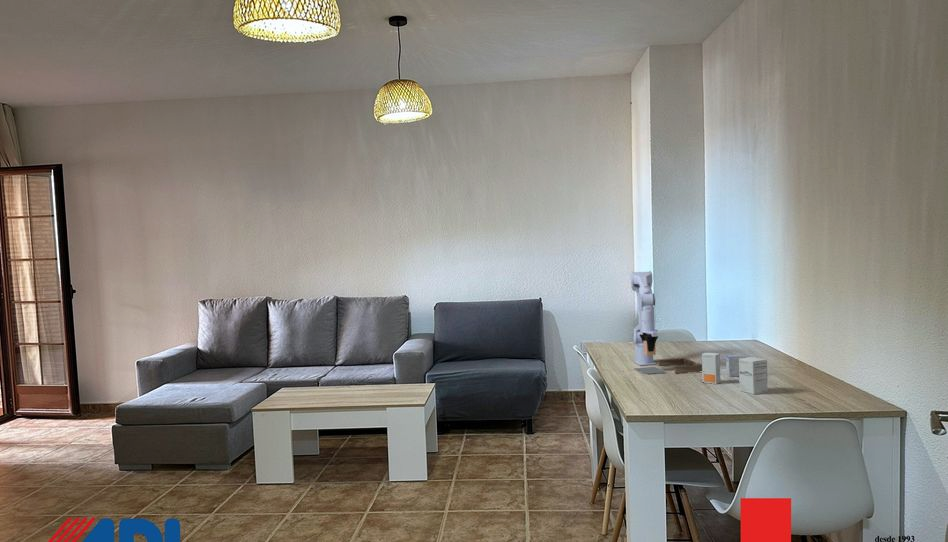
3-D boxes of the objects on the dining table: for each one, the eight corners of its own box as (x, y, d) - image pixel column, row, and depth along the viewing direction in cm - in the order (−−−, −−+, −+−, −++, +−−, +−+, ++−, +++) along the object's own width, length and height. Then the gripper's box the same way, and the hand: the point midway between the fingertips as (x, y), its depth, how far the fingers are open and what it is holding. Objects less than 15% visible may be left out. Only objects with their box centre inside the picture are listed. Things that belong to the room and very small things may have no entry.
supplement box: (738, 391, 267) (738, 358, 267) (753, 388, 270) (752, 356, 270) (753, 394, 260) (752, 361, 260) (768, 392, 263) (767, 359, 263)
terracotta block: (643, 354, 314) (643, 340, 314) (652, 353, 315) (651, 340, 315) (647, 355, 311) (646, 342, 310) (655, 354, 311) (655, 341, 311)
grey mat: (633, 369, 319) (633, 368, 319) (654, 368, 320) (654, 366, 320) (644, 374, 306) (644, 373, 306) (666, 373, 307) (666, 372, 307)
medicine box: (745, 374, 297) (744, 354, 297) (748, 376, 293) (747, 356, 292) (726, 375, 298) (725, 355, 297) (729, 377, 293) (728, 356, 293)
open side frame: (658, 366, 323) (658, 360, 323) (685, 364, 325) (684, 358, 325) (675, 373, 305) (675, 367, 305) (703, 371, 306) (703, 365, 306)
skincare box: (702, 382, 285) (701, 353, 284) (706, 381, 288) (705, 352, 287) (716, 384, 281) (715, 354, 280) (721, 382, 284) (720, 353, 283)
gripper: (663, 321, 305) (664, 352, 306) (650, 318, 320) (651, 347, 320) (647, 322, 304) (648, 353, 305) (635, 319, 319) (636, 348, 319)
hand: (649, 350), depth 313 cm, fingers closed on terracotta block, 4 cm apart
